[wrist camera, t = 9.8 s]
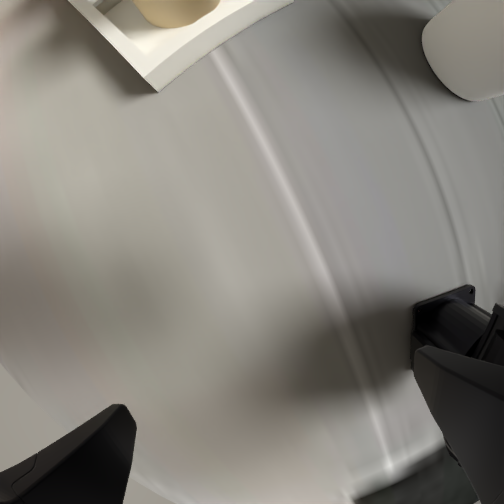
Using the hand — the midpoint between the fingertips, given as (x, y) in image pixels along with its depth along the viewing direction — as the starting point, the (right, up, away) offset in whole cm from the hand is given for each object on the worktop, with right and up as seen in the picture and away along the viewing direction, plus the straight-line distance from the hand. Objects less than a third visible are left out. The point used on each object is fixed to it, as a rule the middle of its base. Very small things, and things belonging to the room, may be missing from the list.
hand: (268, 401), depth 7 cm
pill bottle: (+16, +20, +8) cm, 27 cm away
